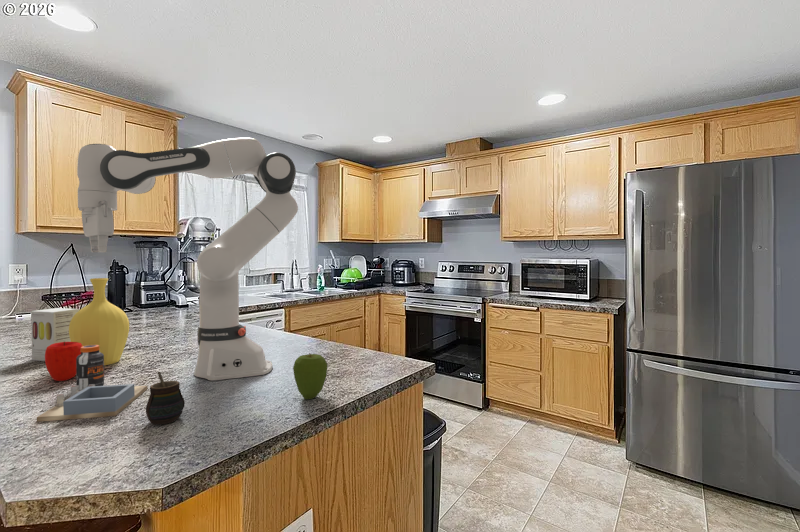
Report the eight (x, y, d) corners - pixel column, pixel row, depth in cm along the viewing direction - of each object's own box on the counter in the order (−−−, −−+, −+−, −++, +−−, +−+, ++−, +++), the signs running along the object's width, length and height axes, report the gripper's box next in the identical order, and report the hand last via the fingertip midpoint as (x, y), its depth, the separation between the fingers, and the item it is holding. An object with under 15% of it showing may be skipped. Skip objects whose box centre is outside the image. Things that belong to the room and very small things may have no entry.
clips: (96, 393, 101) (96, 383, 101) (78, 405, 93) (78, 394, 93) (73, 395, 99) (73, 385, 99) (52, 407, 91) (52, 396, 91)
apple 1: (91, 376, 118) (91, 339, 118) (58, 385, 110) (57, 346, 110) (71, 373, 121) (70, 337, 121) (37, 381, 113) (36, 343, 113)
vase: (106, 369, 125) (104, 280, 124) (55, 369, 125) (53, 280, 124) (140, 356, 141) (139, 277, 140) (95, 356, 141) (94, 277, 140)
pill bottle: (89, 391, 105) (88, 349, 104) (70, 390, 106) (69, 347, 106) (109, 384, 111) (109, 344, 110) (92, 383, 112) (91, 343, 111)
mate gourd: (156, 430, 82) (155, 382, 82) (138, 422, 86) (137, 376, 86) (191, 418, 88) (190, 373, 88) (172, 411, 92) (171, 368, 92)
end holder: (134, 395, 99) (134, 383, 99) (115, 411, 89) (115, 398, 89) (88, 399, 97) (87, 386, 97) (63, 415, 87) (63, 401, 87)
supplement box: (30, 360, 135) (29, 311, 135) (58, 353, 144) (57, 307, 144) (54, 361, 134) (53, 311, 133) (80, 355, 143) (79, 308, 142)
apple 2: (315, 406, 95) (315, 358, 95) (285, 401, 98) (285, 355, 98) (333, 394, 103) (333, 350, 103) (305, 390, 106) (305, 347, 106)
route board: (147, 389, 107) (147, 385, 107) (115, 415, 89) (115, 410, 89) (82, 393, 104) (82, 389, 104) (36, 421, 86) (36, 416, 86)
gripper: (120, 200, 107) (121, 252, 108) (104, 206, 121) (104, 252, 122) (90, 198, 103) (91, 252, 103) (77, 205, 117) (78, 252, 117)
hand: (98, 252), depth 113 cm, fingers open, 8 cm apart
